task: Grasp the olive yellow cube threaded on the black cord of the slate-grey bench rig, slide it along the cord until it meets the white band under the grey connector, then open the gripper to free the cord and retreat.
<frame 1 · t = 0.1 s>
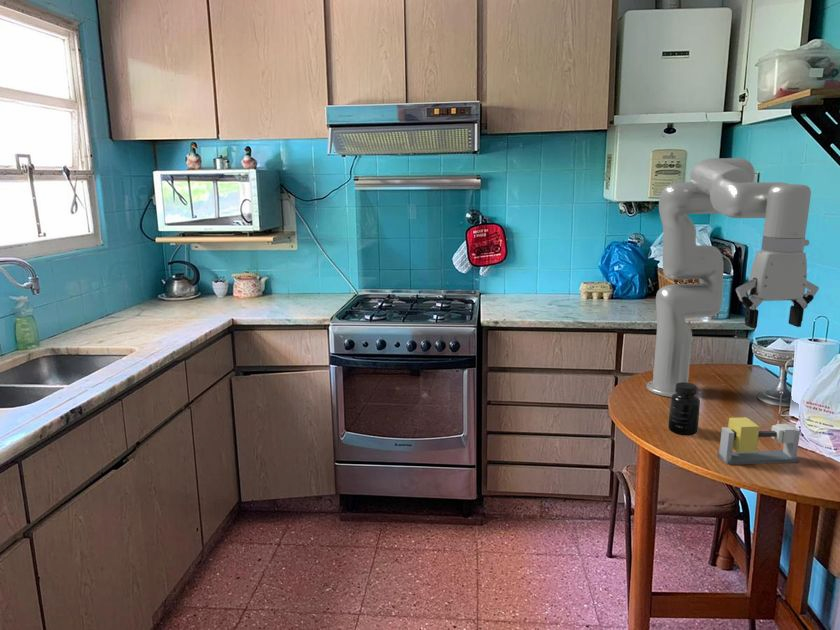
hand: (772, 326, 130), 31 cm above the table, fingers open, 9 cm apart
olive yellow cube: (742, 434, 137), point 6 cm above the table, slide at -4.0 cm
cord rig: (757, 458, 138), on the table
supplement bottle: (682, 431, 154), on the table
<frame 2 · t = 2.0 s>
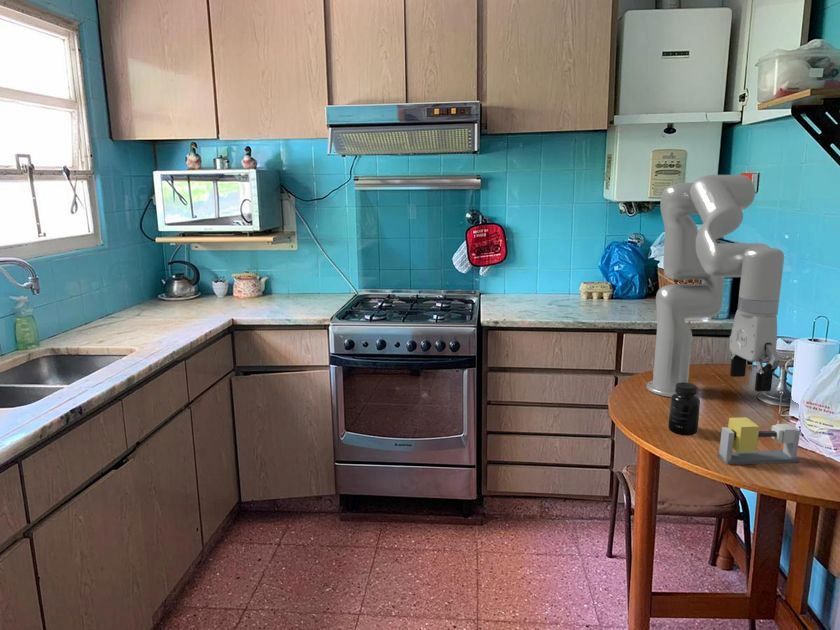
hand: (749, 383, 134), 18 cm above the table, fingers open, 9 cm apart
nothing on the table moved.
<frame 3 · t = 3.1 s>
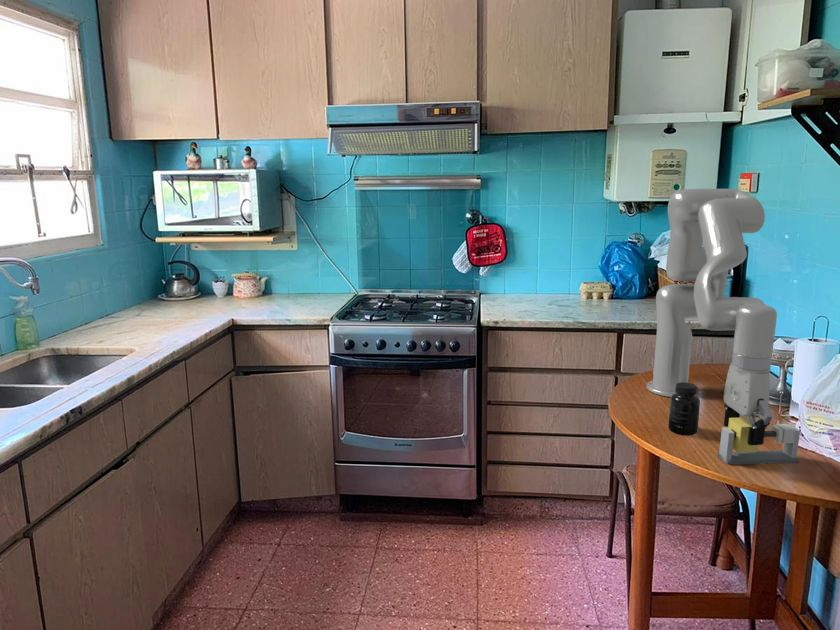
hand: (742, 434, 137), 6 cm above the table, fingers open, 9 cm apart
nothing on the table moved.
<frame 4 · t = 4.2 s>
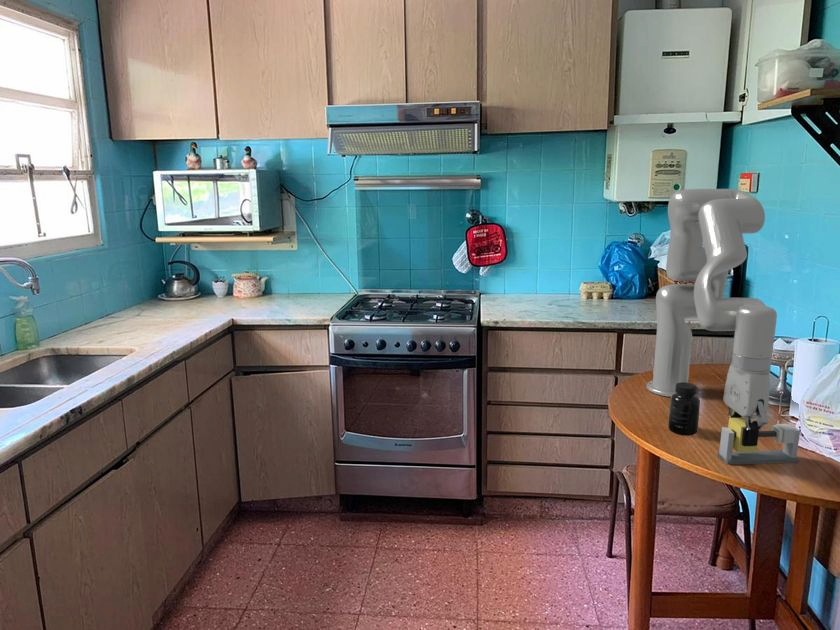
hand: (742, 439, 137), 5 cm above the table, fingers closed on olive yellow cube, 5 cm apart
olive yellow cube: (742, 434, 137), point 6 cm above the table, slide at -4.0 cm, touching gripper
everything else where it was.
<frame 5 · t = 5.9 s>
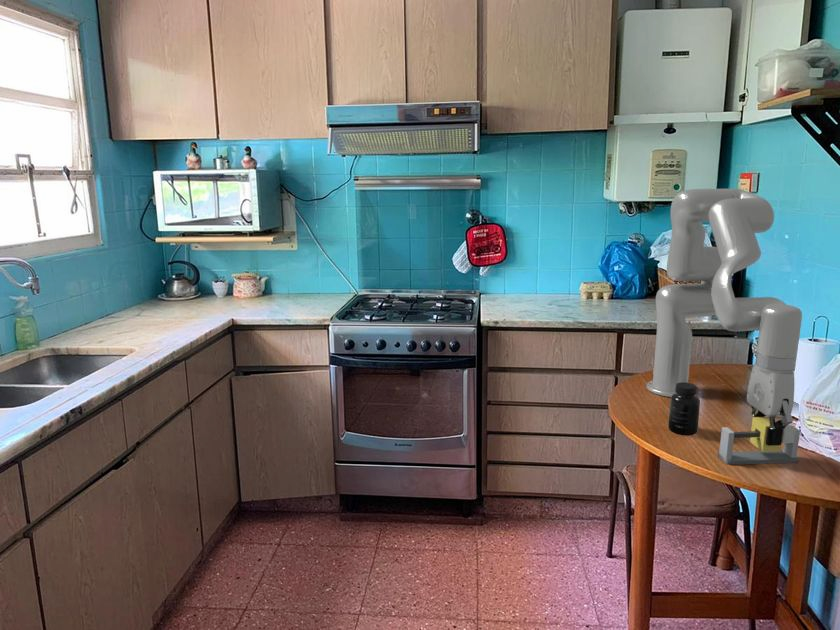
hand: (765, 438, 137), 5 cm above the table, fingers closed on olive yellow cube, 5 cm apart
olive yellow cube: (766, 433, 137), point 6 cm above the table, slide at 1.4 cm, touching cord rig, gripper
everything else where it was.
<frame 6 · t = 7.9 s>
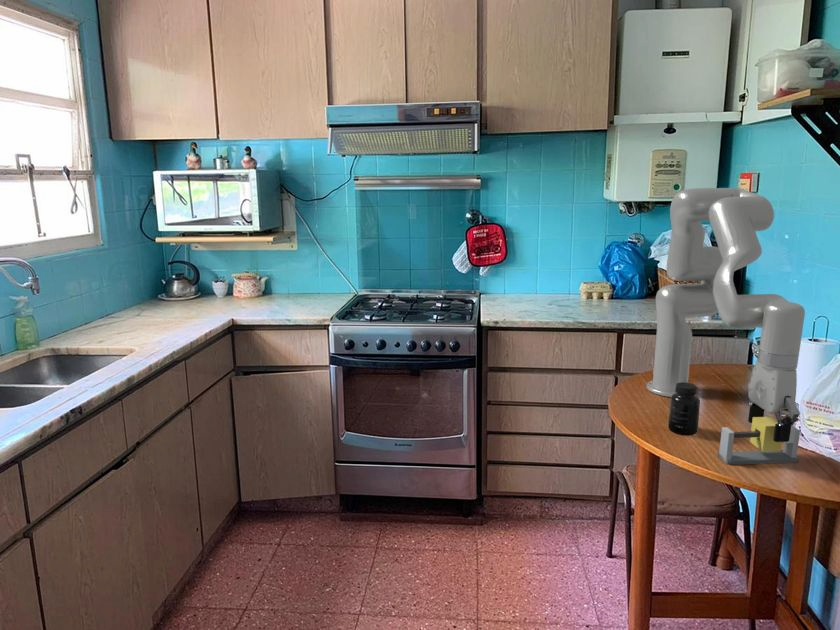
hand: (767, 431, 137), 6 cm above the table, fingers open, 9 cm apart
olive yellow cube: (766, 433, 137), point 6 cm above the table, slide at 1.4 cm, touching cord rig
everything else where it was.
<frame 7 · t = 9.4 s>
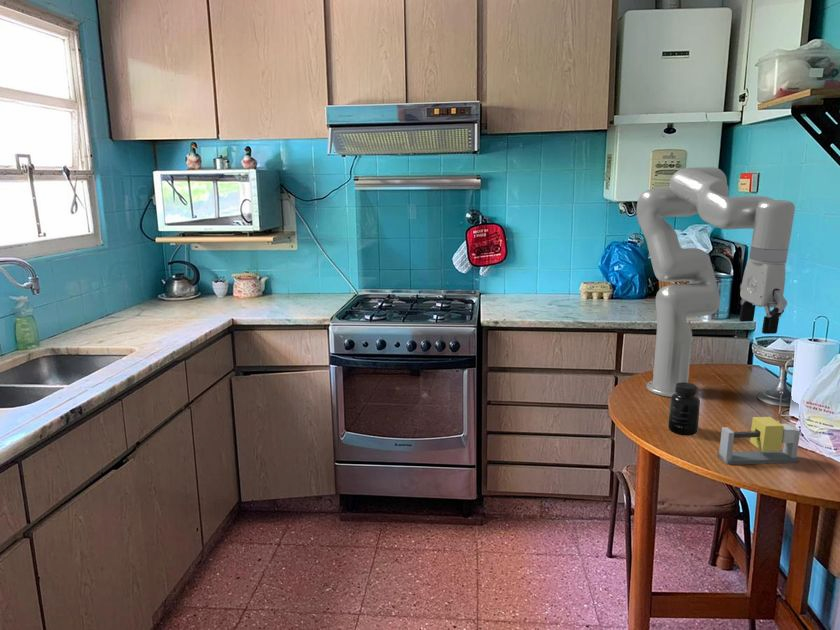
hand: (757, 327, 145), 27 cm above the table, fingers open, 9 cm apart
nothing on the table moved.
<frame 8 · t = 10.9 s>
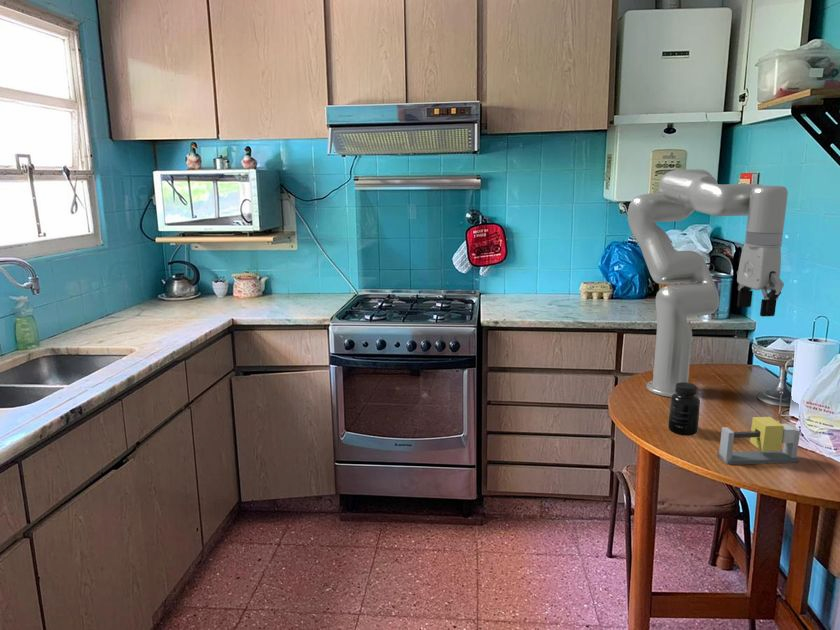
hand: (755, 311, 147), 30 cm above the table, fingers open, 9 cm apart
nothing on the table moved.
at the end: olive yellow cube slide at 1.4 cm; the gripper is holding nothing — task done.
